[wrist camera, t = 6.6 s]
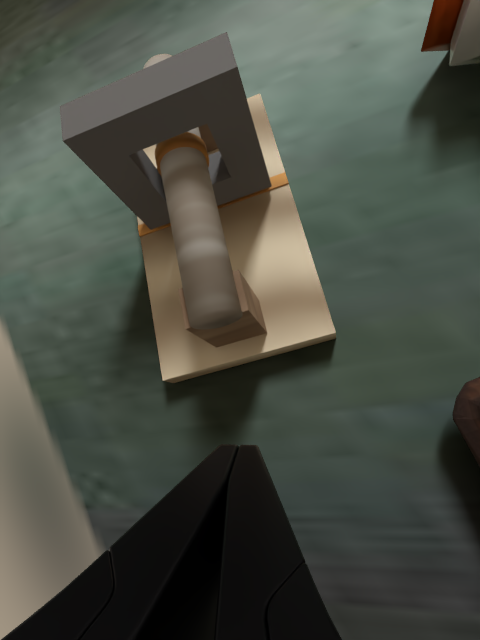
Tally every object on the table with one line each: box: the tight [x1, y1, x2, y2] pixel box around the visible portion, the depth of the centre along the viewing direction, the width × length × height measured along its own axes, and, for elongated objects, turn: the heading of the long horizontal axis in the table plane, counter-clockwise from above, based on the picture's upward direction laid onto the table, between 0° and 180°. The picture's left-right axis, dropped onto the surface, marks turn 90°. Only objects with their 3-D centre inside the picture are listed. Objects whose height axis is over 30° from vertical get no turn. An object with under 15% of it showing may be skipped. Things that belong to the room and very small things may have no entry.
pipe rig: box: [137, 54, 336, 383], centre depth 21 cm, size 17×10×7 cm, turn 13°
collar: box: [60, 32, 272, 230], centre depth 19 cm, size 2×8×8 cm, turn 103°
